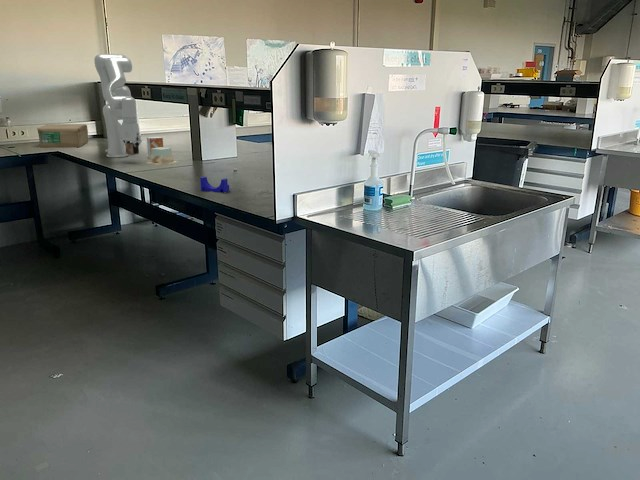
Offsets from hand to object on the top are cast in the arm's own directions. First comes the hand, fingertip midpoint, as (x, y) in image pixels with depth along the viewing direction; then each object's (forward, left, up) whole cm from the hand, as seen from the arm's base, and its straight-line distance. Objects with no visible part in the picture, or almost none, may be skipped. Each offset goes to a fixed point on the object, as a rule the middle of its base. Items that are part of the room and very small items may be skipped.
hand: (132, 152), depth 300 cm
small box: (-2, +20, -7) cm, 22 cm away
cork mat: (+12, +10, -7) cm, 17 cm away
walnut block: (0, 0, -1) cm, 1 cm away
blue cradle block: (+84, -34, -7) cm, 90 cm away
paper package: (-98, +32, -7) cm, 103 cm away
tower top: (+12, +10, -2) cm, 16 cm away
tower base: (+12, +10, -6) cm, 17 cm away
